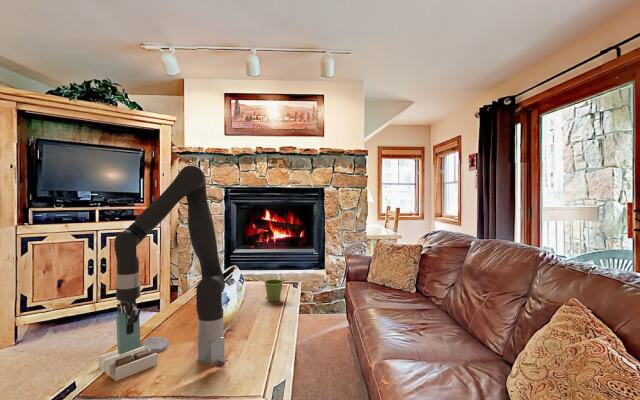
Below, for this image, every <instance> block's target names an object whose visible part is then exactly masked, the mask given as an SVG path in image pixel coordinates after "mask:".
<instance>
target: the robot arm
mask: <svg viewBox="0 0 640 400" xmlns="http://www.w3.org/2000/svg"><path fill="white" fill-rule="evenodd" d="M206 178H207V177H206V175H205V172H204V170H202V169H201V167H199V166H196V165H193V164H190V165H186V166H184V167H182V168H181V170H180V171H179V173H178V174H177V175H176V177H175V178H174V179H173V181H172V182H171V183H170V185H169V186H167V188H166V189H165V190H164V191H163V192H162V193H161V194H160V195H159V196H158V197H157V198H156V199H154V201H153V202H151V203H150V204H149V205H148V206H147V207H146V208H145V209H144V210H143V211H142V212H141V213H140V214H138V216H137V217H136V218H135V220H134V222H132V223H131V224H130V225H129V226H128V227H127V228H126V229H124V230H122V231H120V232H119V233H118V234H117V235H116V236H115V238H114V243H113V244H114V254H115V259H116V277H115V278H116V279H115V287H116V288H115V296H116V301H118V302H119V303H117V304H116V308H117V312H118V314H120V313H124V314H125V318H126V324H127V334H128V335H129V334H132V333H133V332H134V323H135V322H137V320H138V317H139V318H140V314H141V308H137V299H138V298H139V299H140V296H141V277H140V276H141V275H140V262H139V261H140V260H139V257H138V256H137V246H138V245H140V244H141V242H142V241H143V240H144V239H146V237H147V236H148V235H149V233H150V232H152V231H153V230H154V229H155V228H156V227H158V225H159V224H161V223H162V221H163V220H165V218H166V217H167V216H168V215H169V214H170V212H172V210H173V209H174V207H175V206H177V204H178V203H179V202H180V201H182V199H183V198H185V197H186V202H187V226H188V228H187V229H188V233H189V239H190V242H191V246H192V249H193V251H194V252H195V253H194V254H195V255H196V257H197V259H198V261H199V266H200V273H201V279H200V280H199V281H198V283H197V285H196V290H195V292H196V295H195V296H196V299H195V300H196V312H197V362H199V363H200V364H202V365H203V364H204V365H210V366H211V365H213V366H212V367H210V369H212V368H215V367H217V366H219V365H221V364H223V363H225V356H226V355H225V353H226V352H225V350H226V349H225V343H226V340H225V337H224V308H223V304H222V303H223V302H222V301H223V299H222V297H223V296H222V295H223V292H224V290H225V287H226V281H225V278H224V274H223V269H222V267H221V263H220V260H219V259H220V258H219V251H218V250H219V249H218V243H217V237H216V236H217V235H216V232H215V231H216V230H215V226H214V225H215V224H214V220H213V217H212V213H211V210H210V209H211V208H210V207H209V203H208V197H207V188H206V187H207V186H206V185H207V183H206ZM129 314H130V315H129ZM129 318H130V319H129ZM219 362H220V363H219ZM215 363H218V364H215ZM214 364H215V365H214Z"/></svg>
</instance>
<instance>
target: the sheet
mask: <svg viewBox="0 0 640 400" xmlns="http://www.w3.org/2000/svg"><path fill="white" fill-rule="evenodd" d="M129 315H130V314H129ZM129 319H130V318H129ZM115 321H116V323H115V325H116V342H117V350H118V354H120V355H121V354H124V353H126V352H129V351H132V350H134V349H137V348H139V347H142V345H141V327H140V325H141V324H140V316H139V317H138V320H137V322H135V323H134V332H133V333H132V334H129V335H128V334H127V324H126V318H125V314H124V313H120V314H119V313H117V314H115Z"/></svg>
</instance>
